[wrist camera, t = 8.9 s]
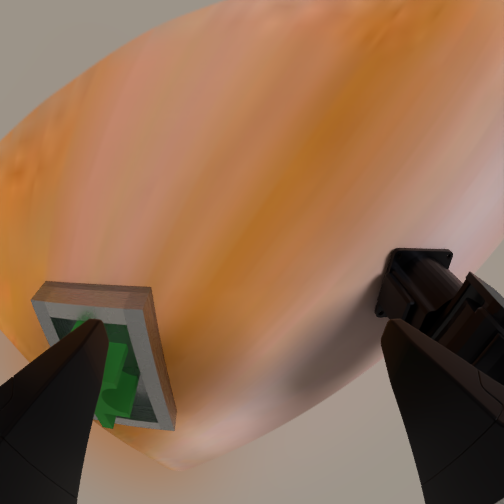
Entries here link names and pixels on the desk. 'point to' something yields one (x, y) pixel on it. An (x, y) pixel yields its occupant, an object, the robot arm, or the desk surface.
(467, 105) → the desk surface
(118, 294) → the gray rectangular tray
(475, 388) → the robot arm
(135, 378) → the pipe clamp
